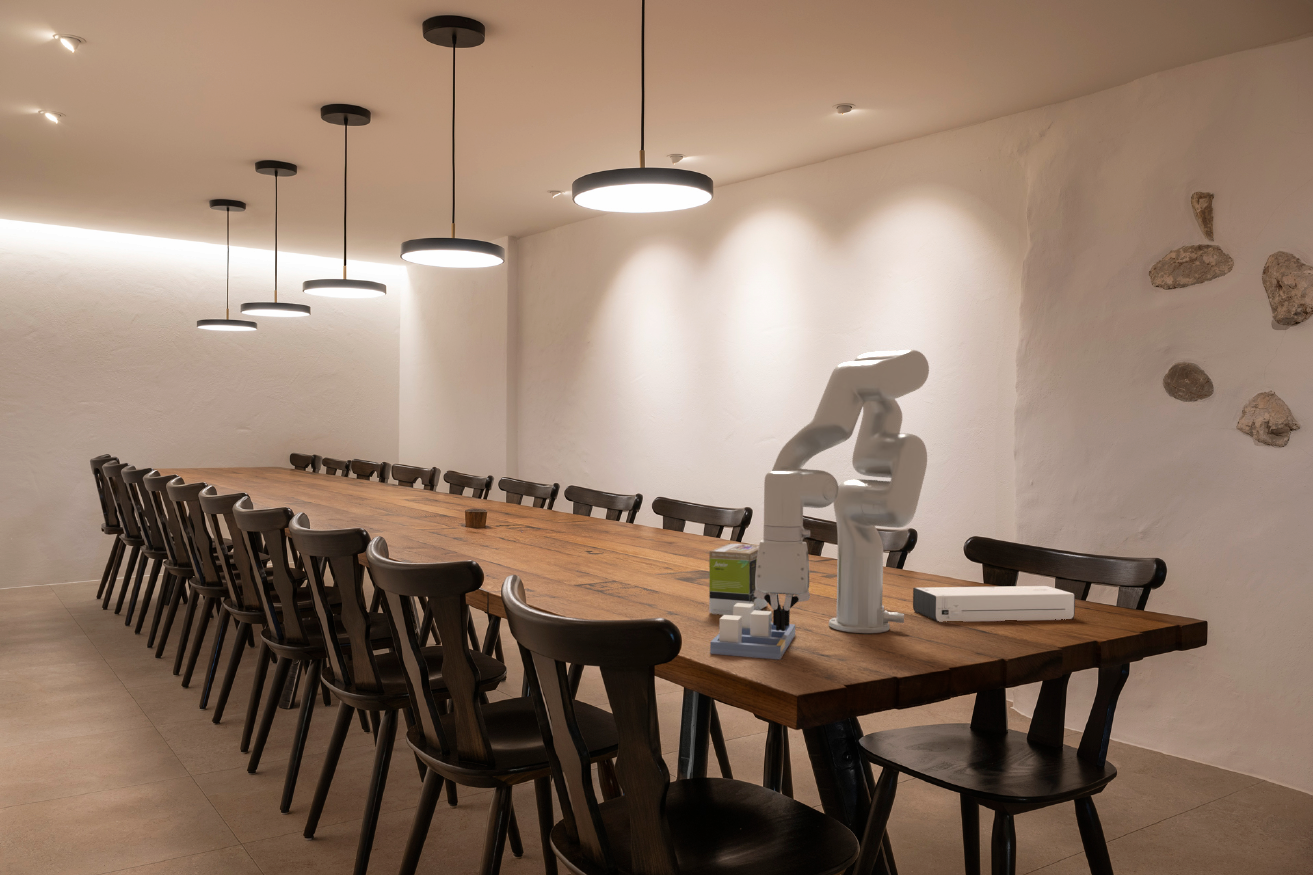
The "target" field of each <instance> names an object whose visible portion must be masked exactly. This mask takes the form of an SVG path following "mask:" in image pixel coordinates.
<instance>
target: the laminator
mask: <svg viewBox="0 0 1313 875" xmlns="http://www.w3.org/2000/svg"><path fill="white" fill-rule="evenodd" d="M912 590H913V591H912V610H913V611H914V613H917V614H919V615H922V616H924V617H927V618H928V617H929V618H928V619H930V618H931V620H933V621H934V622H936V623H944V622H943V621H946V623H947V621H963V622H997V621H998V622H1001V621H1002V622H1004V621H1005V620H1017V621H1061V619H1063V620H1064V619H1065V620H1066V619H1071V620H1073V619H1074V618H1075V615H1076V614H1075V613H1076V594H1075V593H1073V592H1070V591H1066V590H1064V589H1063V590H1062V589H1060V588H1055V587H1053V586H1049V585H1026V586H1024V585H1023V586H1021V585H1018V586H1014V585H1013V586H1012V585H1011V586H951V587H948V586H944V587H939V586H938V587H936V586H935V587H913V589H912ZM1055 619H1056V620H1055ZM1065 620H1064V621H1065ZM938 621H939V622H938ZM1005 622H1006V621H1005Z"/></svg>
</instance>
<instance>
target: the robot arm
mask: <svg viewBox="0 0 1313 875" xmlns="http://www.w3.org/2000/svg"><path fill="white" fill-rule="evenodd" d="M929 365H930V364H929V361H928V359H927V358H926V356H925V355H924V354H923V353H922V351H921V352H920V351H918V350H915V349H905V350H904V349H903V350H901V349H900V350H883V351H872V352H866V353H863V354H861V355H858V356H856V357H855V359H854V361H846V362H843V363H840V364H838V365H837V366H836V367H835V368H834V369H833V370H832V372H831V375H830V377H829V379H828V382H827V384H826V387H825V389H824V391H823V393H822V397H821V399H820V400H819V404H818V405H817V408H816V411H815V414H814V416H813V419H812V420H811V421H810V422H808V424H807V425H804V426H803V428H801V429H800V430H799V431H798V432H797V433H796V434H794V435H793V436H792V437H791V438H790V439H789V440H788V441H787V442H786V443H785V445H783V447H782V448H781V450H780V451H779V453H778V455H777V457H776V460H775V462H774V465H773V467H772V469H771V471H768V472H767V473H766V474H765V476H764V481H763V482H764V484H763V485H764V486H763V487H764V491H763V535H762V536H763V539H761V540H760V541H759V544H758V545H759V549H758V555H757V563H756V575H755V587H756V588H755V592H754V596H755V597H757V598H760V599H764V600H766V601H767V603H768V605H769V606H770V607H771V609H772V623H773V625H776V631H779V630H780V629H781V630H782V631H785V629H786V626H789V624H790V623H791V622H790V616H791V613H790V612H791V611H790V610H791V608H793V607H794V605H796V604H798V603H801V602H807V601H809V600H810V598H811V596H810V592H809V589H810V558H809V551H808V544H807V541H803V540H804V539H805V538H810V537H811V530H810V529H806V528H804V508H809V509H810V508H811V509H813V508H814V509H823V508H826V507H829V506H830V505H832V504H833V509H834V510H833V511H834V516H835V521H836V530H837V532H836V533H837V560H836V561H837V564H836V565H837V566H836V568H837V570H836V571H837V572H836V575H837V576H836V578H837V579H836V617H835V616H834V617H832V618H830V619H829V621H828V626H829V627H830V628H832V629H835V630H837V631H841V632H847V633H854V634H855V633H856V634H879V633H885V632H889V630H890V623H889V622H892V623H896V624H897V623H898V624H899V623H900V624H904V623H905V614H904V613H900V612H897V611H894V612H893V611H891V612H890V611H888V610H885V605H883V583H884V582H883V581H884V544H883V540H882V538H881V536H880V533H879V531H878V529H877V528H876V527H882V528H883V527H884V528H894V529H895V528H904V527H906V526H908V525H909V524H910V523H911V522H912V521H913V519H914V516H915V514H916V511H917V507H918V504H919V499H920V496H921V491H922V487H923V484H924V483H923V482H924V479H925V476H926V471H927V467H928V466H927V465H928V452H927V447H926V444H925V443H924V441H923V439H921V438H920V437H919V436H918V435H915V434H912V433H905V432H904V433H902V432H901V429H902V423H903V412H902V409H901V407H900V405H899V403H898V401H897V400H896V399H898V398H901V397H904V396H906V395H908V394H910V393H913V392H915V391H917V390H920V389H921V387H923V386H924V384H925V383H926V381H927V380H928V377H929V372H930V366H929ZM861 412H862V416H861V422H860V426H859V429H858V433H857V437H856V440H855V445H854V447H853V448H854V449H853V452H852V457H851V458H852V461H851V462H852V467H853V469H854V470H855V471H856V472H857V473H858V474H860V475H862V476H865V477H866V476H867V477H873V478H890V480H877V479H862V478H861V479H860V478H859V479H856V478H855V479H849V480H845V481H843V482H841V483H840V484H839V483H838V480H837V479H836V478H835V477H834V475H832V474H831V473H830V472H828V471H825V470H819V469H808V468H807V469H806V468H803V467H804V466H805V465H806V464H807V462H809V461H810V459H812V458H813V457H815V456H816V455H818V454H819V453H822V452H824V451H826V450H828V449H832V448H833V447H835V446H837V445H840V444H842V443H844V442H846V441H847V440H849V439H850V438H852V435H853V433H854V430H855V428H856V425H857V422H858V420H859V417H860V415H861ZM900 432H901V433H900ZM779 595H785V597H784V604H783V606H782V605H781V604H780V596H779ZM781 606H782V607H781Z"/></svg>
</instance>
